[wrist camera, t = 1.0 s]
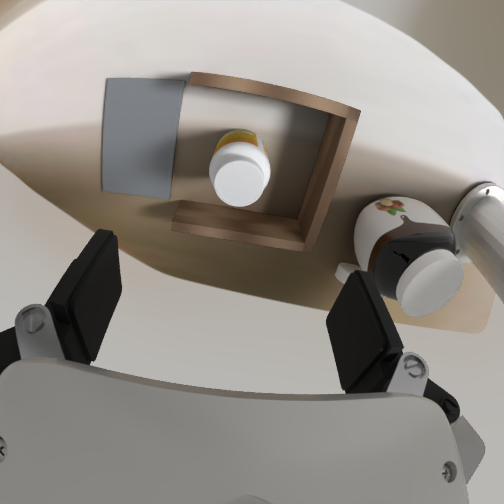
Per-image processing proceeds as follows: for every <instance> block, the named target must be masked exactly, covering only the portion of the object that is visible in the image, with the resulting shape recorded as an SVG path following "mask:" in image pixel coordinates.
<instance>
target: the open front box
mask: <svg viewBox="0 0 504 504" xmlns="http://www.w3.org/2000/svg"><path fill="white" fill-rule="evenodd" d="M189 84H192V85H201V86H209V87H216V88H223V89H229V90H235V91H241V92H247V93H252V94H257V95H262V96H267V97H271V98H276V99H280V100H284V101H288V102H292V103H296V104H300V105H304V106H308V107H311V108H315V109H318V110H322V111H325V112H329V113H330V115H329V119H328V122H327V126H326V129H325V133H324V136H323V139H322V143H321V146H320V149H319V153H318V156H317V159H316V163H315V166H314V169H313V172H312V176H311V179H310V182H309V185H308V188H307V191H306V195H305V198H304V201H303V204H302V207H301V210H300V213H299V216H298V219H297V220H296V219H291V218H285V217H280V216H275V215H269V214H264V213H258V212H252V211H247V210H241V209H235V208H229V207H223V206H217V205H211V204H205V203H198V202H192V201H185V200H181V202H180V204H179V207H178V209H177V211H176V213H175V216H174V218H173V220H172V228H171V231H175V232H181V233H188V234H194V235H200V236H207V237H213V238H219V239H225V240H232V241H238V242H244V243H250V244H256V245H262V246H268V247H274V248H281V249H287V250H293V251H299V252H305V253H312V251H313V248H314V246H315V243H316V240H317V238H318V235H319V233H320V230H321V227H322V225H323V222H324V219H325V217H326V214H327V211H328V208H329V206H330V203H331V200H332V197H333V195H334V192H335V189H336V186H337V183H338V180H339V177H340V175H341V172H342V169H343V166H344V163H345V160H346V157H347V154H348V151H349V148H350V145H351V141H352V138H353V135H354V132H355V129H356V126H357V122H358V119H359V116H360V113H361V111H360V110H358V109H355V108H352V107H350V106H347V105H344V104H341V103H338V102H335V101H332V100H329V99H326V98H323V97H319V96H316V95H312V94H309V93H305V92H301V91H298V90H294V89H290V88H286V87H282V86H277V85H273V84H268V83H264V82H259V81H254V80H248V79H243V78H237V77H231V76H225V75H218V74H210V73H202V72H191V76H190V82H189Z"/></svg>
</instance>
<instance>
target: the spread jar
mask: <svg viewBox="0 0 504 504" xmlns="http://www.w3.org/2000/svg"><path fill="white" fill-rule="evenodd" d="M354 248H355V254H356V257H357V260H358V263H359V265H360V266H357V265H354V264H350V263H339V265H338V267H337V270H336V272H335V277H336V278H337V279H338V280H339V281H340V282H342V283H343V284H345V282H346V280H347V278H348V276H349V275H350V273H353V272H354V271H355V270H361V271H368V272H369V273H370V274H371V276H372V278H373V280H374V282H375V284H376V286H377V288H378V290H379V292H380V295H381V297H382V298H390V299H393V300H397V301H399V303H400V305H401V307H402V309H403V311H404V312H405V313H406V314H407V315H409V316H413V317H421V316H426V315H429V314H431V313H433V312H436V311H437V310H439V309H440V308H442V307H443V306H444V305H446V304H447V303H448V302H449V301H450V300H451V299H452V298H453V297H454V295H455V294H456V293H457V291H458V290H459V288H460V286H461V283H462V280H463V275H464V271H463V266H462V264H461V263H460V262H459V260H458V259H457V258H456V257H455V256H456V239H455V235H454V233H453V231H452V229H451V228H450V227H449V225H448V224H447V223H446V222H445V221H444V220H443V219H442V218H441V217H440V216H439V215H438V214H437V213H436V212H435V211H434V210H433V209H432V208H430V207H429V206H427V205H426V204H424V203H423V202H421V201H418V200H415V199H412V198H409V197H405V196H399V195H387V196H383V197H380V198H377V199H375V200H373V201H371V202H370V203H369V204H367V205H366V206H365V207H364V208H363V209H362V210H361V212H360V214H359V216H358V219H357V222H356V225H355V230H354Z"/></svg>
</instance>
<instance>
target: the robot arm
mask: <svg viewBox="0 0 504 504" xmlns="http://www.w3.org/2000/svg"><path fill="white" fill-rule="evenodd" d="M449 227H450V228H451V229H452V231H453V233H454V235H455V239H456V256H455V257H456V258H457V259H458V260H459V262H462V263H472V262H473V264H474V265H475V266H476V267H477V269H478V270H479V271H480V272H481V274H482V275H483V276H484V278H485V279H486V280H487V281H488V283H489V284H490V285H491V287H492V288H493V289H494V291H495V292H496V294H497V295H498V296H499V298H500V299H501V301H502V302H503V304H504V190H503V189H502V188H501V187H499V186H498V185H496V184H494V183H484V184H481V185H479V186H477V187H475V188H474V189H472V190H471V191H470V192H469V193H468V194H467V195H466V196H465V197H464V198H463V199H462V201H461V202H460V204H459V205H458V207H457V209H456V211H455V212H454V214H453V217H452V220H451V222H450V226H449ZM121 292H122V285H121V275H120V265H119V254H118V240H117V236H116V235H114V234H113V231H110V230H103V229H98V230H97V231H96V233H95V234H94V235H93V237H92V238H91V239H90V241H89V242H88V244H87V245H86V246H85V248H84V249H83V251H82V252H81V253H80V255H79V256H78V258H77V259H74V261H73V262H72V263H71V264H70V266H69V268H68V269H67V271H66V272H65V274H64V275H63V277H62V278H61V280H60V281H59V283H58V285H57V286H56V288H55V289H54V291H53V292H52V294H51V296H50V297H49V299H48V301H47V302H46V304H45V306H43V305H41V304H31V305H28V306H26V307H24V308H23V309H22V310H21V311H20V312H19V313H18V315H17V316H16V319H15V326H14V327H12V328H10V329H7V330H5V331H3V332H0V504H469V499H468V492H467V486H466V485H467V483H468V481H469V480H470V479H471V477H472V475H473V474H474V472H475V470H476V469H477V467H478V465H479V464H480V462H481V460H482V458H483V456H484V454H485V445H484V442H483V440H482V439H481V438H480V436H479V435H478V434H477V433H476V431H475V430H474V429H473V428H472V426H471V425H470V424H469V423H468V421H467V420H466V419H465V418H464V416H461V417H459V415H460V408H459V405H458V402H457V401H456V399H455V398H454V397H453V396H452V395H450V394H449V393H448V392H446V391H445V390H443V389H442V388H441V387H439V386H438V385H437V384H435V383H434V382H433V381H431V380H430V379H429V378H428V375H429V369H428V366H427V364H426V362H425V361H424V359H423V358H422V357H420V356H419V355H418V354H416V353H412V352H406V353H404V354H403V352H402V349H403V348H404V346H403V344H402V341H401V339H400V337H399V334H398V332H397V330H396V327H395V325H394V323H393V320H392V318H391V316H390V314H389V312H388V309H387V307H386V305H385V303H384V301H383V299H382V297H381V295H380V292H379V290H378V288H377V286H376V284H375V282H374V280H373V278H372V276H371V274H370V273H369V272H368V271H361V270H355V271H354V272H353V273H350V275H349V276H348V278H347V280H346V282H345V284H344V286H343V288H342V290H341V292H340V294H339V296H338V298H337V299H336V301H335V303H334V305H333V307H332V309H331V310H330V312H329V314H328V316H327V319H326V326H327V329H328V333H329V337H330V341H331V345H332V349H333V353H334V358H335V362H336V366H337V370H338V374H339V379H340V383H341V387H342V389H343V390H345V393H346V394H320V395H319V394H316V395H315V394H313V395H309V394H273V393H254V392H242V391H231V390H221V389H212V388H204V387H196V386H189V385H183V384H176V383H170V382H164V381H159V380H153V379H148V378H143V377H138V376H133V375H129V374H124V373H120V372H115V371H111V370H106V369H102V368H98V367H94V366H90V363H91V361H95V360H96V357H97V354H98V352H99V349H100V346H101V343H102V341H103V338H104V335H105V333H106V330H107V328H108V325H109V322H110V320H111V318H112V315H113V312H114V310H115V308H116V305H117V303H118V301H119V298H120V296H121Z"/></svg>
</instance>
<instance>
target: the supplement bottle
mask: <svg viewBox="0 0 504 504" xmlns="http://www.w3.org/2000/svg"><path fill="white" fill-rule="evenodd" d="M209 176H210V180H211V183H212V185H213V187H214V189H215V192H216V194H217V195H218V197H219V198H220V199H221V200H222V201H223V202H225V203H226V204H229V205H231V206H237V207H242V206H247V205H250V204H252V203H254V202H255V201H256V200H257V199H258V198H259V197H260V196H261V194H262V192H263V190H264V188H265V187H266V185H267V184H268V181H269V178H270V164H269V160H268V156H267V152H266V148H265V145H264V143H263V141H262V140H261V138H260V137H259V136H258V135H257V134H255V133H254V132H252V131H249V130H245V129H236V130H232V131H230V132H228V133H226V134H225V135H224V136H222V138H221V139H220V140H219V142H218V143H217V146H216V149H215V151H214V154H213V157H212V160H211V162H210V167H209Z"/></svg>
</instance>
